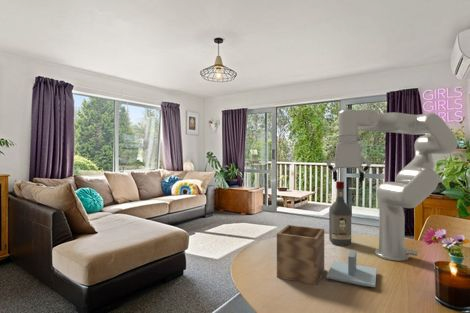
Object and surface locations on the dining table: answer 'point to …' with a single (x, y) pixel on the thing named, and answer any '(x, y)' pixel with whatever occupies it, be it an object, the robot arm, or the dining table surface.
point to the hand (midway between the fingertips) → (348, 181)
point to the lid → (353, 272)
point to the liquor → (340, 219)
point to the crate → (300, 254)
